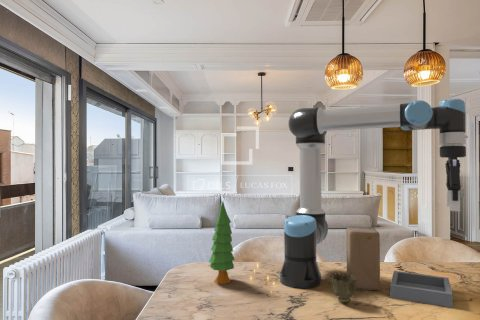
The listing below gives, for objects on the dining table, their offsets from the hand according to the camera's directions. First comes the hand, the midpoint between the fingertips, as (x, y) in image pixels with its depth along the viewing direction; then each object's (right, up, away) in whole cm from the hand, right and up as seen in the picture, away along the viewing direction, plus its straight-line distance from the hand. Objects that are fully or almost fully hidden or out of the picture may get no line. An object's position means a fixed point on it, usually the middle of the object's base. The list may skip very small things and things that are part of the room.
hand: (453, 208), depth 113 cm
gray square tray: (-12, -28, -1) cm, 30 cm away
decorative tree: (-78, -29, +12) cm, 84 cm away
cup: (-39, -28, -8) cm, 49 cm away
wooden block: (-28, -28, +6) cm, 40 cm away
